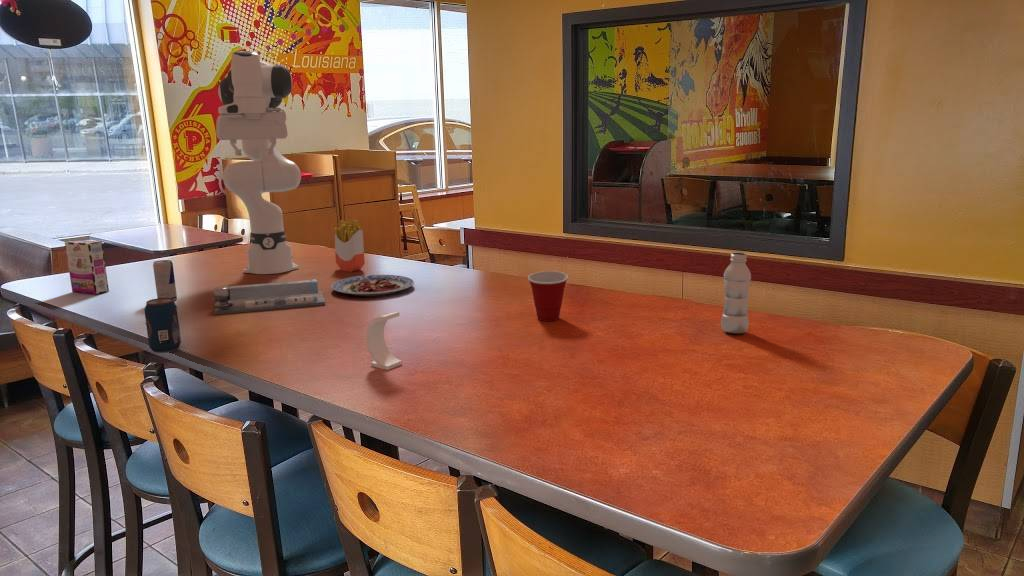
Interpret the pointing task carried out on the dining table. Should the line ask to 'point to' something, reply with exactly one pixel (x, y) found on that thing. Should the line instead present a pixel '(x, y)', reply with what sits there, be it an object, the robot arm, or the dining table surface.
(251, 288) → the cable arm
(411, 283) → the ceramic plate
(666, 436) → the dining table surface
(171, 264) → the energy drink
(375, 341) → the headphone stand
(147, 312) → the soda can
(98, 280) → the candy bar box
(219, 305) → the double power outlet
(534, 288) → the plastic cup
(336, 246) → the french fries container
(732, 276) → the plastic bottle
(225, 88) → the robot arm
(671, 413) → the dining table surface
